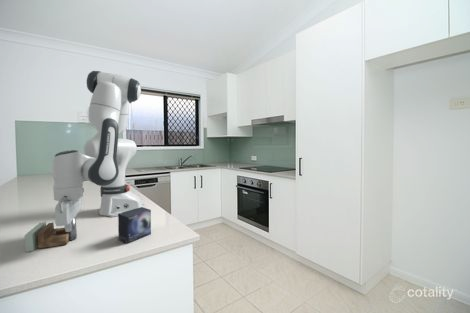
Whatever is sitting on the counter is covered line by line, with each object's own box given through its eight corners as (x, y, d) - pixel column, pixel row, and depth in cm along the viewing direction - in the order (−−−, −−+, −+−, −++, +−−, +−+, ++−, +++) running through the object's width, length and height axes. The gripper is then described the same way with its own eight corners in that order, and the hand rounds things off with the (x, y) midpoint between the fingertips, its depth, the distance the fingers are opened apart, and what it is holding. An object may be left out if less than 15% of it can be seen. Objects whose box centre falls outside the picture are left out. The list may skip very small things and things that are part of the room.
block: (74, 233, 89) (73, 220, 89) (66, 244, 80) (65, 229, 80) (49, 236, 86) (48, 223, 86) (38, 248, 77) (37, 233, 76)
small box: (127, 244, 81) (126, 216, 80) (117, 240, 84) (116, 213, 84) (152, 234, 90) (151, 209, 89) (142, 230, 93) (141, 206, 93)
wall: (47, 236, 86) (46, 222, 86) (33, 251, 75) (32, 234, 75) (40, 237, 86) (39, 222, 85) (25, 252, 75) (24, 235, 74)
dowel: (77, 236, 87) (76, 216, 86) (75, 239, 84) (74, 218, 83) (68, 237, 85) (67, 217, 85) (66, 240, 83) (64, 220, 82)
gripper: (71, 199, 75) (73, 238, 76) (84, 187, 94) (86, 219, 95) (47, 201, 72) (50, 241, 73) (66, 188, 91) (68, 221, 92)
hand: (70, 229), depth 84 cm, fingers closed on dowel, 3 cm apart
